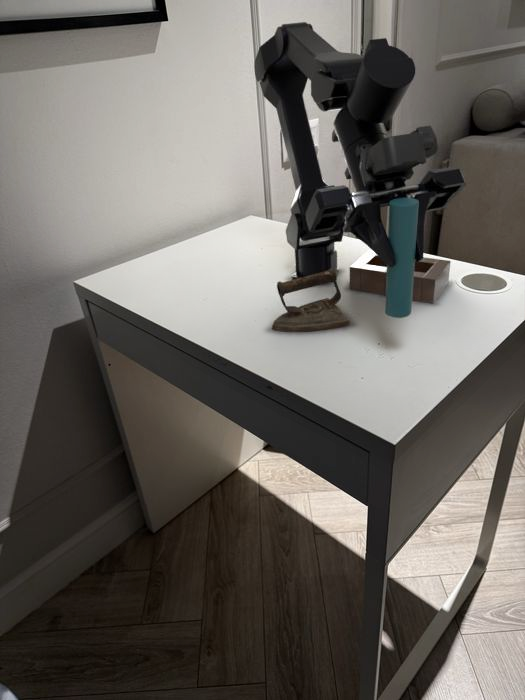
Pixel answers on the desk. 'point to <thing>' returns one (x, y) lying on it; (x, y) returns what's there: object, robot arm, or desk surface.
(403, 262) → the peg
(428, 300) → the peg block
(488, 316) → the desk surface
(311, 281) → the clothes iron
